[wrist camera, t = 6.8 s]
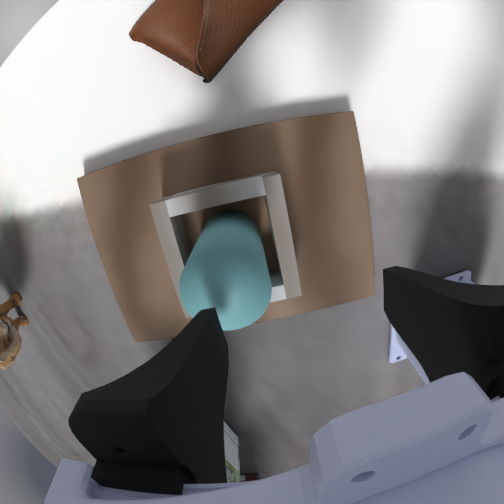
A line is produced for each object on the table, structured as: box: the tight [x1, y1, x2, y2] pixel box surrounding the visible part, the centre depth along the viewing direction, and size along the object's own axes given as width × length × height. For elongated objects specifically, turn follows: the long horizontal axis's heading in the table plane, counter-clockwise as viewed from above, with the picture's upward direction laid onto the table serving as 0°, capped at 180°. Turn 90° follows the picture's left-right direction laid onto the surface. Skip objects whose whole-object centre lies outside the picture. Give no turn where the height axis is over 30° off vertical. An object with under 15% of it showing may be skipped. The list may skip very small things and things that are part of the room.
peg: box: [179, 210, 272, 331], centre depth 16 cm, size 4×4×8 cm
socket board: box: [77, 111, 375, 342], centre depth 19 cm, size 20×14×4 cm
